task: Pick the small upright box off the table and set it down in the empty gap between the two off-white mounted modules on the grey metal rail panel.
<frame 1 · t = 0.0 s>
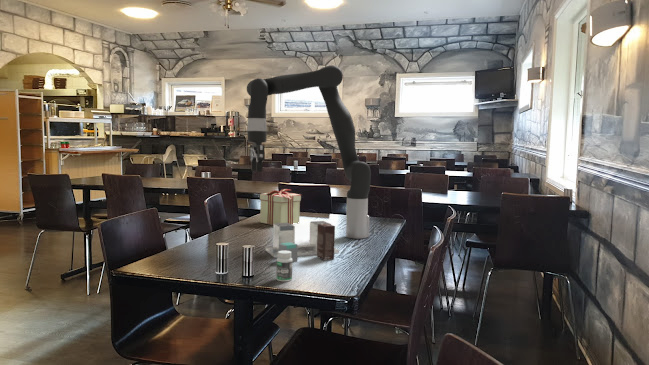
hand: (256, 171, 191), 29 cm above the table, fingers open, 8 cm apart
pill bottle: (284, 280, 143), on the table
gift box: (282, 223, 244), on the table
rail panel: (302, 251, 180), on the table
box: (325, 258, 171), on the table
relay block: (288, 261, 165), on the table
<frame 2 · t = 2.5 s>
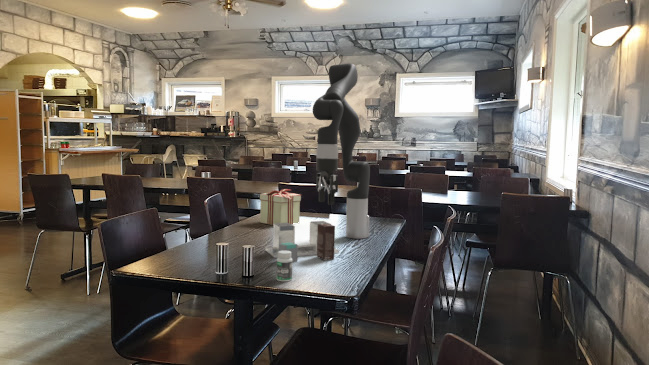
hand: (326, 203, 169), 20 cm above the table, fingers open, 8 cm apart
nothing on the table moved.
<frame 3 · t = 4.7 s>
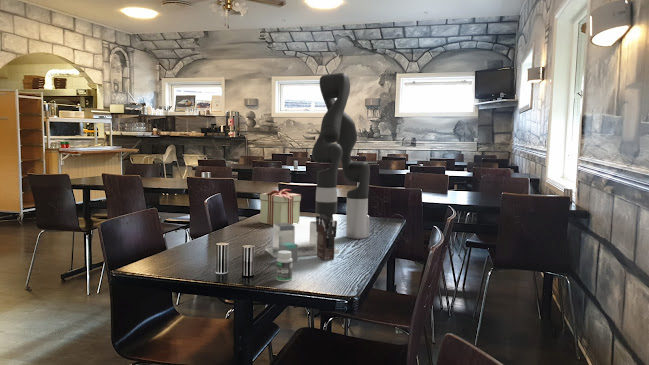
hand: (325, 246, 170), 4 cm above the table, fingers closed on box, 6 cm apart
box: (325, 258, 171), on the table, touching gripper
everything else where it was.
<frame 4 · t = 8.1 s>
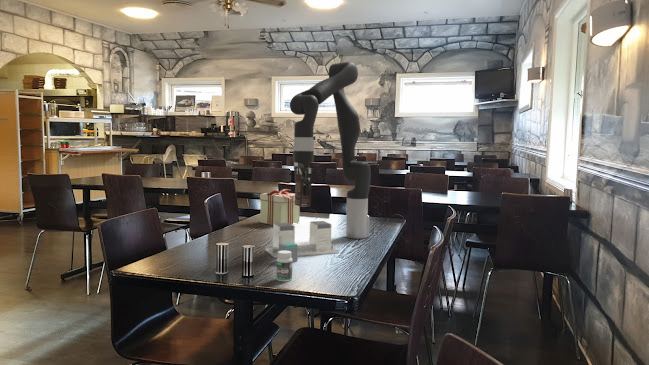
hand: (303, 194, 178), 21 cm above the table, fingers closed on box, 6 cm apart
box: (302, 206, 179), point 17 cm above the table, touching gripper
everything else where it was.
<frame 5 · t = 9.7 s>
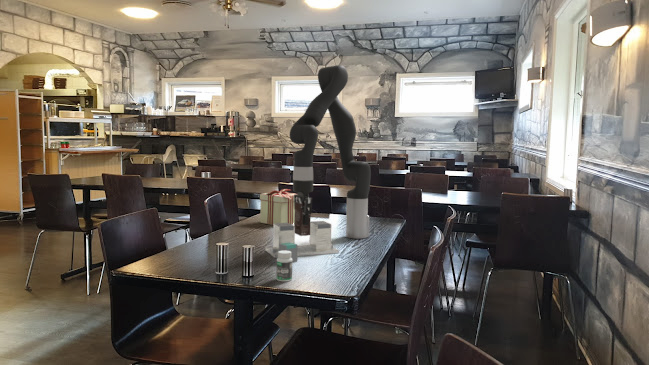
hand: (302, 223, 179), 11 cm above the table, fingers closed on box, 6 cm apart
box: (302, 234, 179), point 6 cm above the table, touching gripper
everything else where it was.
when the fingers open (8 cm above the table, at t = 11.3 s): box drops 2 cm, resting on rail panel.
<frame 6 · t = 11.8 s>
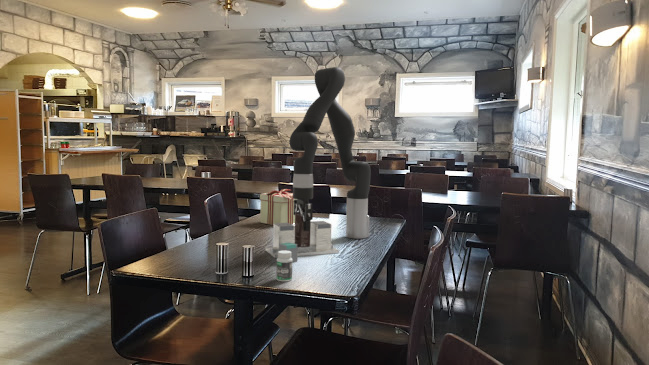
hand: (302, 229, 179), 9 cm above the table, fingers open, 8 cm apart
box: (302, 246, 180), point 2 cm above the table, touching rail panel
everything else where it was.
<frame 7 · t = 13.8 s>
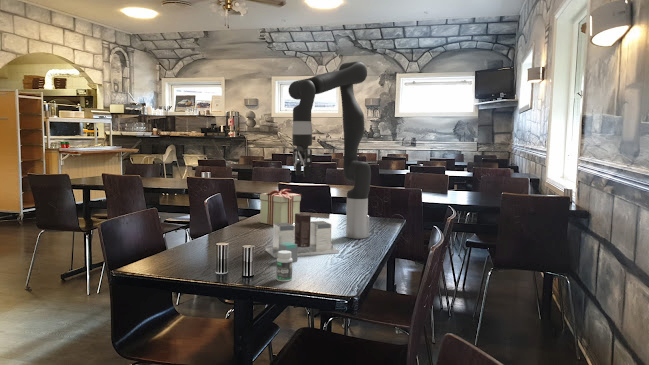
hand: (302, 175, 185), 28 cm above the table, fingers open, 8 cm apart
nothing on the table moved.
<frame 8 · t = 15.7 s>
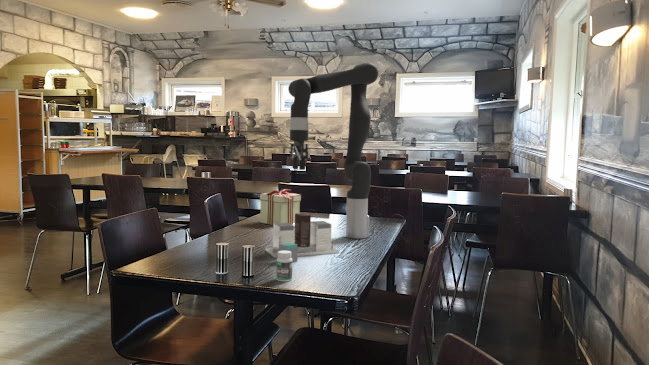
hand: (298, 169, 196), 30 cm above the table, fingers open, 8 cm apart
nothing on the table moved.
at the end: box 0.2 cm off-centre on the rail panel, point 2.0 cm above the rail panel's base; box tilted 0°; the gripper is holding nothing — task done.
